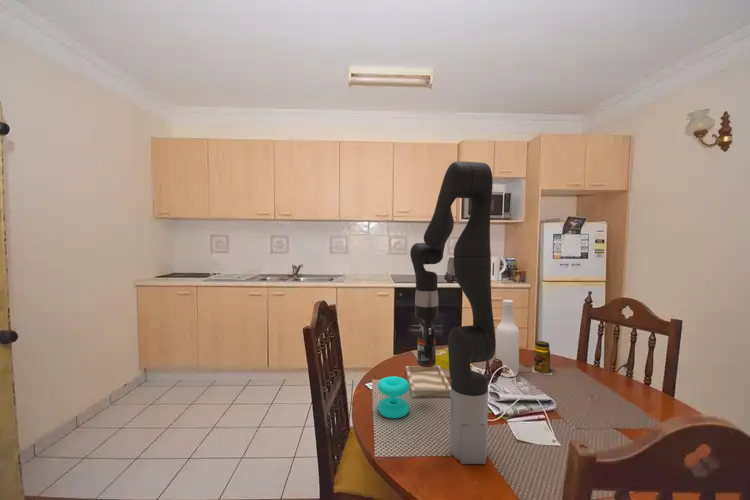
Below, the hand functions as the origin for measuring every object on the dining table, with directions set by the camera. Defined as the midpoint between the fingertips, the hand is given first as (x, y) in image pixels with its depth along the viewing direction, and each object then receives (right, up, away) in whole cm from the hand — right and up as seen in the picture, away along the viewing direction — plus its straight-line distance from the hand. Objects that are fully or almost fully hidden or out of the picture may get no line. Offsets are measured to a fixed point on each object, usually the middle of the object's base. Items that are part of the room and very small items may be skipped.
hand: (426, 353), depth 113 cm
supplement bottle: (0, -4, 0) cm, 4 cm away
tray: (+3, -16, +17) cm, 24 cm away
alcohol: (+37, -16, +26) cm, 48 cm away
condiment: (+53, -16, +29) cm, 62 cm away
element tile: (+16, -16, +38) cm, 44 cm away
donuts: (-11, -18, -3) cm, 21 cm away
